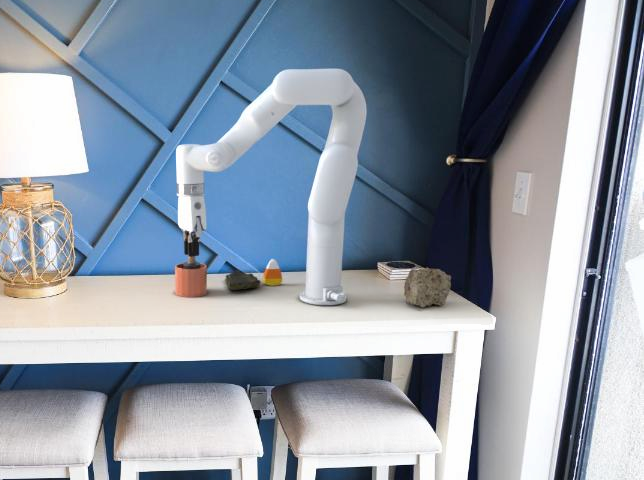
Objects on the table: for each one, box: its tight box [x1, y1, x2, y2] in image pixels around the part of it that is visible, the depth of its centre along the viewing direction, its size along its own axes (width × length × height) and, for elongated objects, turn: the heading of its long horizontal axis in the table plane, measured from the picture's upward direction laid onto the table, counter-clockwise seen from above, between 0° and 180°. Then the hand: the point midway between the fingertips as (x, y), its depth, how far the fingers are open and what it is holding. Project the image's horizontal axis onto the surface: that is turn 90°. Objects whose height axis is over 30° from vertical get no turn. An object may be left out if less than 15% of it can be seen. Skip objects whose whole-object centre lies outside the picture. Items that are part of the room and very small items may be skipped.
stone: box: [224, 269, 261, 291], centre depth 191 cm, size 19×4×10 cm
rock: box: [403, 267, 452, 308], centre depth 171 cm, size 11×12×10 cm
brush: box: [182, 235, 201, 269], centre depth 181 cm, size 5×5×13 cm
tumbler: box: [174, 262, 208, 298], centre depth 182 cm, size 9×9×8 cm
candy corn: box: [262, 258, 283, 287], centre depth 191 cm, size 6×3×8 cm, turn 93°
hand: (191, 254), depth 180 cm, fingers closed on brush
